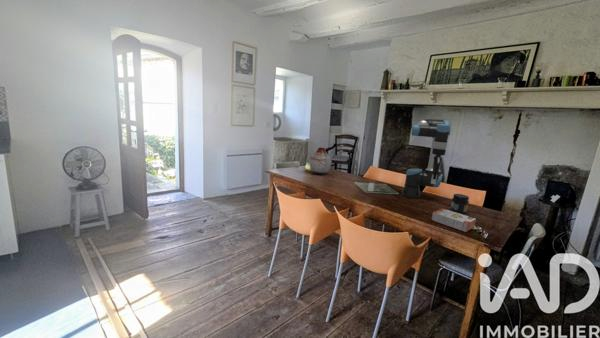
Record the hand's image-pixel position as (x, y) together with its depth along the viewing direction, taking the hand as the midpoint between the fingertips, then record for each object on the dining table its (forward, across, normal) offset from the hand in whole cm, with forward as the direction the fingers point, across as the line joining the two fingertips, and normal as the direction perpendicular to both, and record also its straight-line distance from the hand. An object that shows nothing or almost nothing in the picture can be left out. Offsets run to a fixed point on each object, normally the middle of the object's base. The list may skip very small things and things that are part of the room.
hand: (433, 183), depth 174 cm
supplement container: (+23, -22, +22) cm, 39 cm away
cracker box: (+20, +2, +5) cm, 20 cm away
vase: (+24, -75, -99) cm, 127 cm away
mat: (+23, +1, +17) cm, 29 cm away
